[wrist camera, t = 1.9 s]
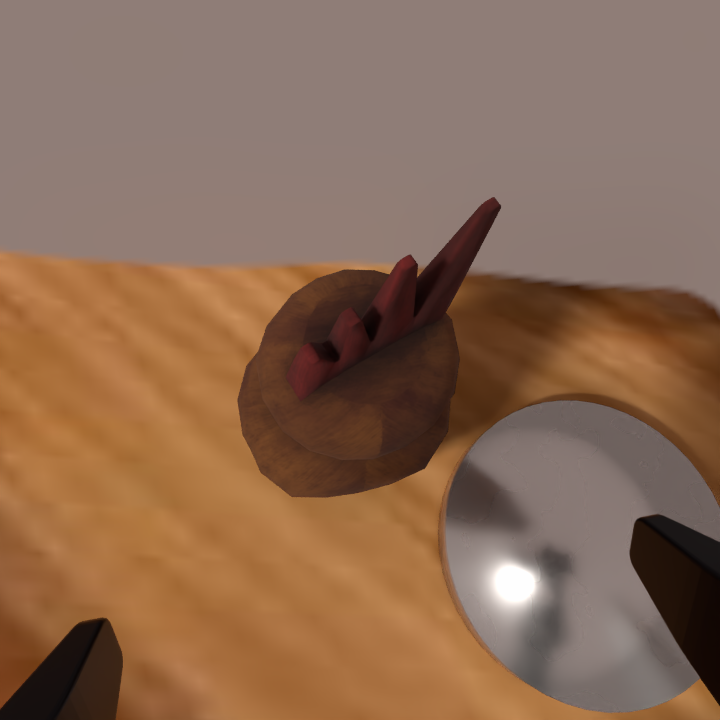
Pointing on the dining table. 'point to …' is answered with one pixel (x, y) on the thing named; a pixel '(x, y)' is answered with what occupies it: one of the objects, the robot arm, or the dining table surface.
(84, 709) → the robot arm
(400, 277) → the wooden figurine
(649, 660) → the plate
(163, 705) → the dining table surface
